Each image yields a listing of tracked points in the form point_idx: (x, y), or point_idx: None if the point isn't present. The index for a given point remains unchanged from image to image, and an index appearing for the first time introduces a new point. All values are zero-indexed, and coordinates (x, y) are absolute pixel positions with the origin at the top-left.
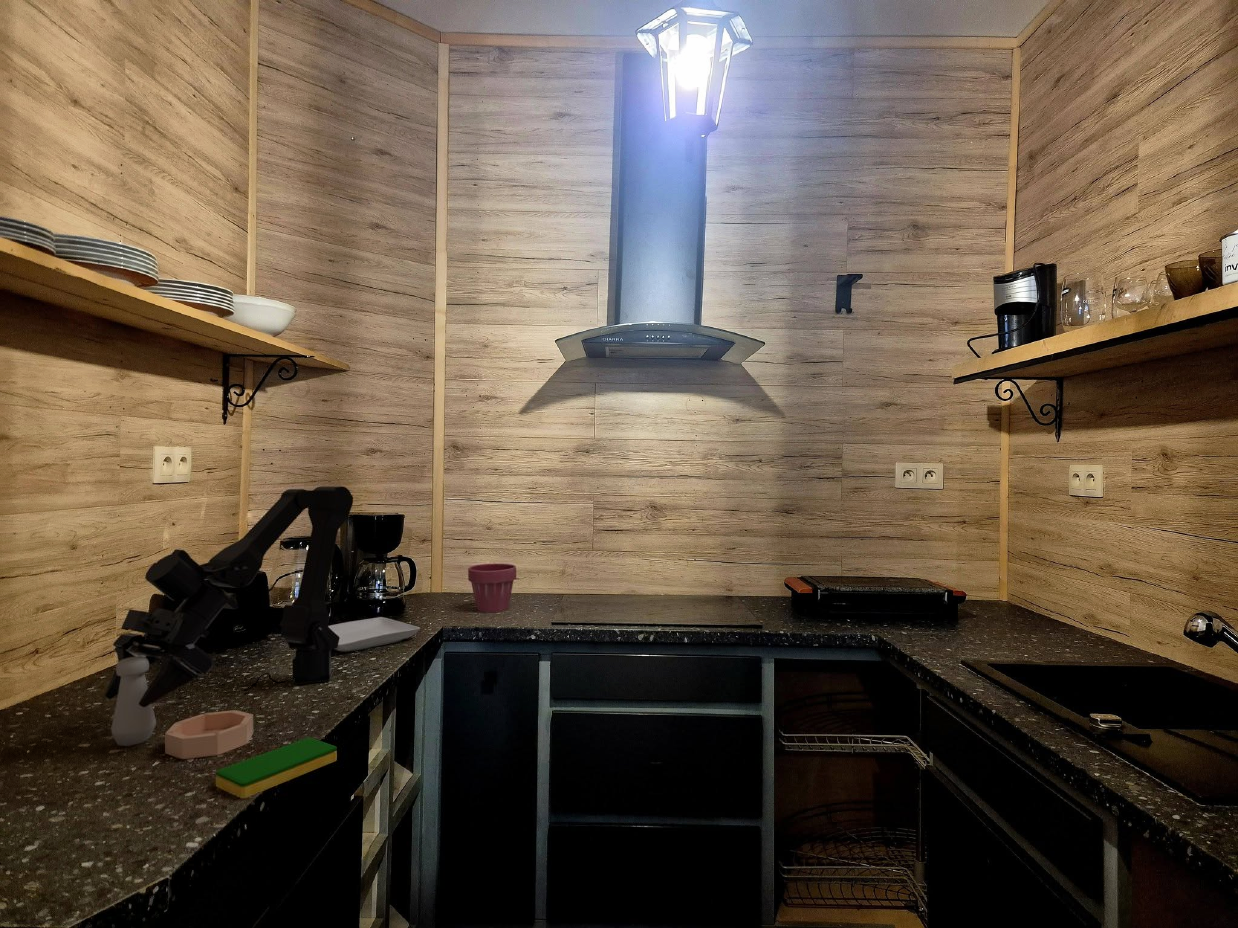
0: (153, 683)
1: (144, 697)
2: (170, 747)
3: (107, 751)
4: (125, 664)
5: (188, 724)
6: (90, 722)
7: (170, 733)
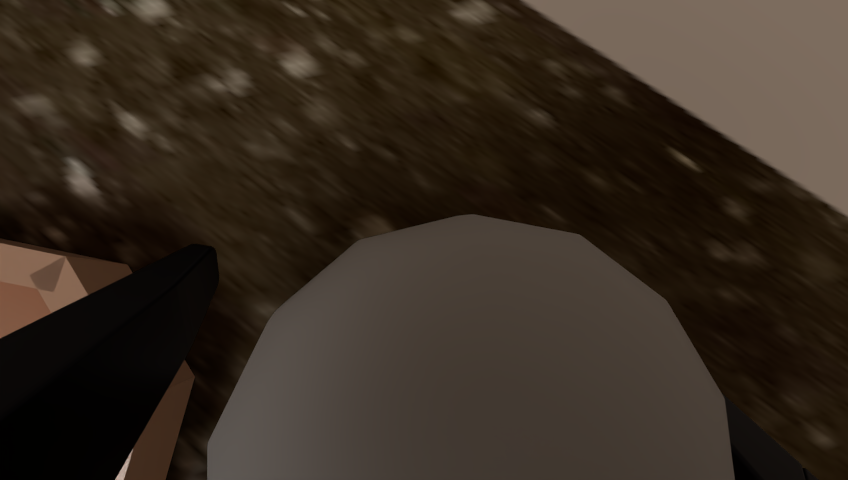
0: (40, 346)
1: (155, 266)
2: (61, 252)
3: (398, 223)
4: (394, 247)
5: None
6: (776, 440)
7: (34, 264)
